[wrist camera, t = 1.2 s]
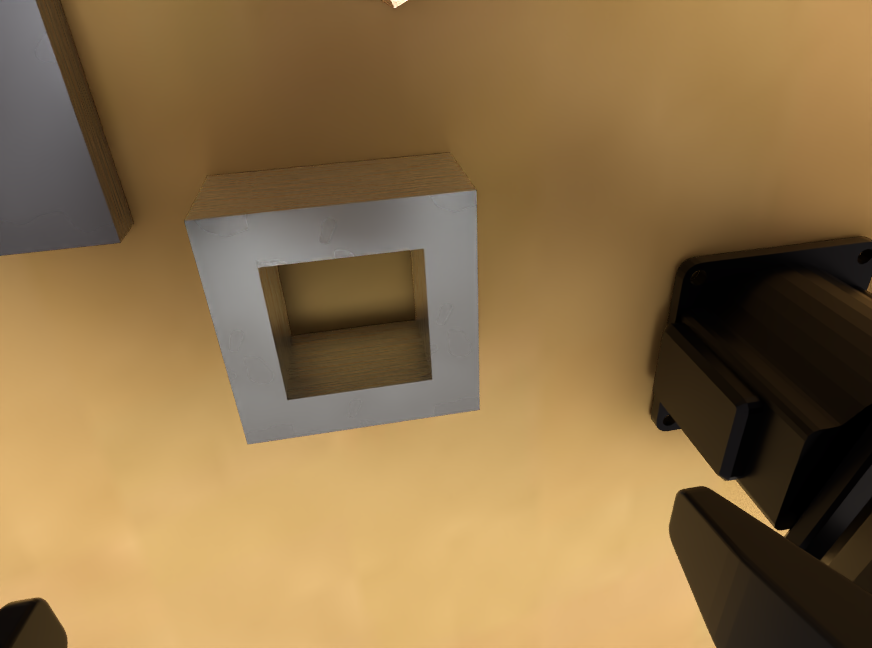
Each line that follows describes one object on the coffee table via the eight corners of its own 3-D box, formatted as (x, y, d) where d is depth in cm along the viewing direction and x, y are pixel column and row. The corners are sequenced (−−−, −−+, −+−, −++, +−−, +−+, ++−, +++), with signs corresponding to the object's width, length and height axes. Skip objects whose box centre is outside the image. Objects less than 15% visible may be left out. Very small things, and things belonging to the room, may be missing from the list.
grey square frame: (450, 152, 15) (476, 190, 13) (457, 348, 18) (479, 409, 16) (207, 175, 15) (184, 220, 12) (257, 375, 18) (247, 444, 15)
